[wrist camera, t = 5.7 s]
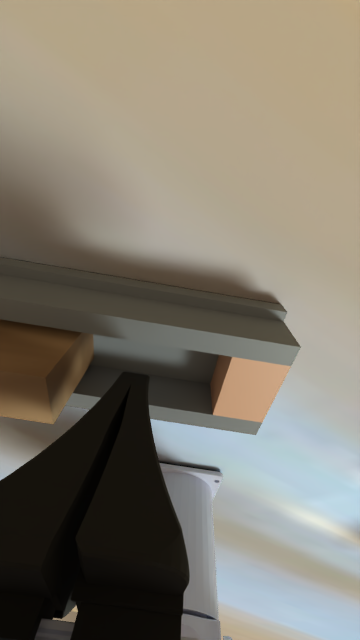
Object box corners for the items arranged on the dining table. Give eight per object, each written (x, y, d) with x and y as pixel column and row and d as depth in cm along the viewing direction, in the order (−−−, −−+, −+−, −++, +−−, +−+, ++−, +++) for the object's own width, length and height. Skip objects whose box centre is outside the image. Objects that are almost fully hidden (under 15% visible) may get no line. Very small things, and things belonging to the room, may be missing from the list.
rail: (242, 397, 18) (252, 441, 15) (-48, 351, 17) (-101, 386, 14) (281, 304, 14) (306, 336, 11) (-94, 241, 13) (-181, 256, 10)
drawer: (94, 357, 15) (53, 424, 11) (-28, 338, 15) (-119, 397, 11) (92, 318, 14) (45, 377, 9) (-42, 296, 14) (-155, 345, 9)
